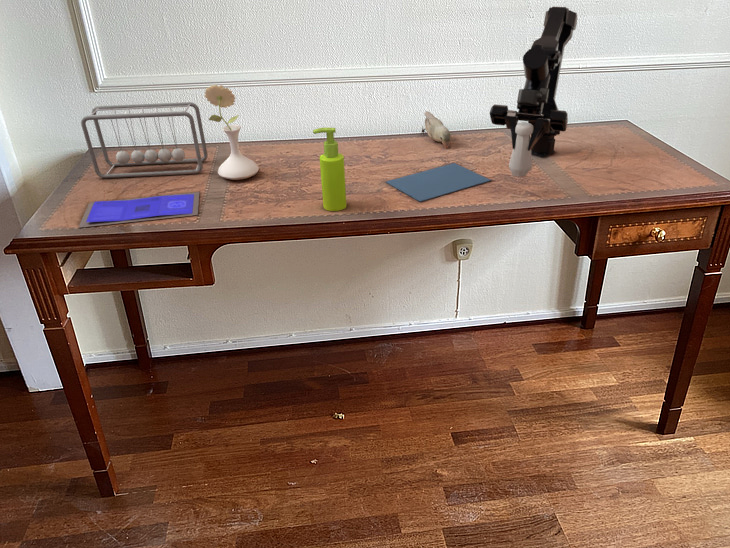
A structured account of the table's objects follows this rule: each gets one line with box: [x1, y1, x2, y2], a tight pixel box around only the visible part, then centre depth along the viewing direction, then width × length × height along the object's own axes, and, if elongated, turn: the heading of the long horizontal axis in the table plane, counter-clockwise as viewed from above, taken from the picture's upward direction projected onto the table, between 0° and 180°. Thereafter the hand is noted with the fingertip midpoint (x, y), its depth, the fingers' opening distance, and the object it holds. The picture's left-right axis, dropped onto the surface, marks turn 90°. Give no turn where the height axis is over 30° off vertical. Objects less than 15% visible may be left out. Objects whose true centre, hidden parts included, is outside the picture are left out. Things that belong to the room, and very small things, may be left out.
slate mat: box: [385, 162, 492, 203], centre depth 165 cm, size 24×16×1 cm, turn 123°
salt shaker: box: [508, 121, 533, 178], centre depth 151 cm, size 6×6×13 cm
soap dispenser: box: [312, 126, 347, 212], centre depth 148 cm, size 6×7×20 cm
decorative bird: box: [420, 110, 451, 149], centre depth 191 cm, size 5×16×8 cm, turn 21°
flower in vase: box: [203, 84, 260, 181], centre depth 165 cm, size 13×11×25 cm
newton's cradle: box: [80, 101, 208, 179], centre depth 172 cm, size 30×10×18 cm, turn 95°
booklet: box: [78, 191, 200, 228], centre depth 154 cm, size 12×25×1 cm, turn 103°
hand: (520, 149), depth 149 cm, fingers closed on salt shaker, 3 cm apart
